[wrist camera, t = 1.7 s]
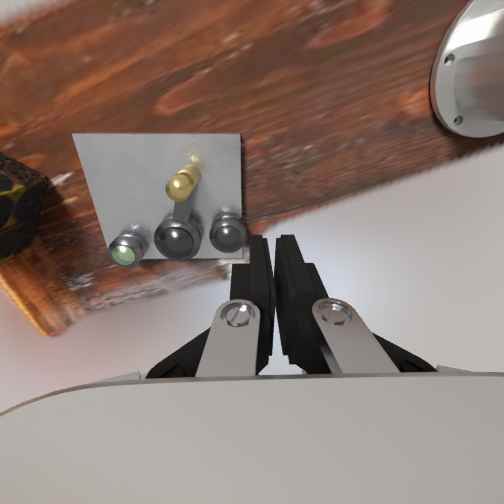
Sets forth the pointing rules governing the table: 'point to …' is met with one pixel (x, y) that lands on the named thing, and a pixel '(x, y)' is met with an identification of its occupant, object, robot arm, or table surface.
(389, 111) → the table surface
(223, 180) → the plate
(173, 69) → the table surface
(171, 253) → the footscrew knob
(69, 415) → the robot arm
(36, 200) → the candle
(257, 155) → the table surface
